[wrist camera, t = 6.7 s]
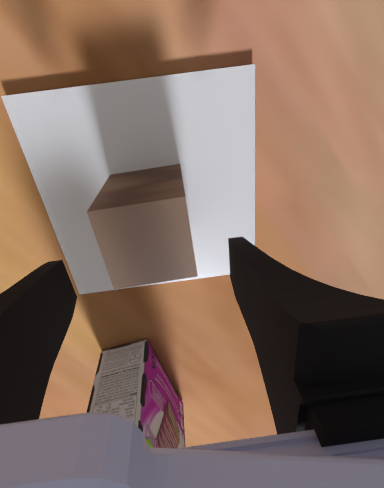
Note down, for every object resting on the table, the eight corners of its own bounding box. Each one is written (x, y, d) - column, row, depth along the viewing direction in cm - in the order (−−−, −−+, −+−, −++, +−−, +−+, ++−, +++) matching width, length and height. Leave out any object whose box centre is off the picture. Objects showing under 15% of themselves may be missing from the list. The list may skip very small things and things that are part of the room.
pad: (252, 64, 16) (254, 63, 16) (252, 266, 23) (254, 271, 23) (6, 95, 16) (1, 96, 15) (81, 289, 23) (79, 294, 22)
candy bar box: (186, 401, 32) (201, 663, 17) (143, 412, 32) (125, 677, 18) (149, 334, 26) (127, 637, 12) (98, 348, 26) (18, 657, 12)
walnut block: (180, 163, 18) (185, 196, 13) (189, 226, 20) (197, 276, 15) (109, 174, 18) (86, 211, 13) (127, 236, 20) (113, 289, 15)
